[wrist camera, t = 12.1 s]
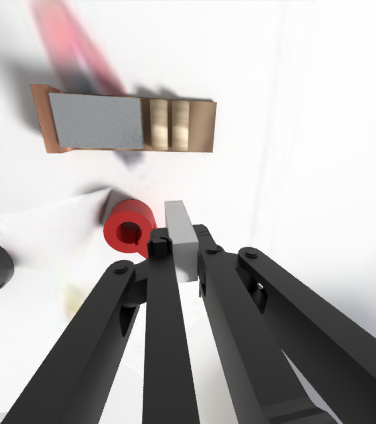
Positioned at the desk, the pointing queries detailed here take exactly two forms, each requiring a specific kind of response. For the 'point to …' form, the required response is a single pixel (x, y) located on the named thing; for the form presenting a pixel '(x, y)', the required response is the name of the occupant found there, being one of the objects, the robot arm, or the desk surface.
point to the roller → (180, 125)
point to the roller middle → (159, 124)
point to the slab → (97, 121)
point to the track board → (198, 120)
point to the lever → (127, 237)
